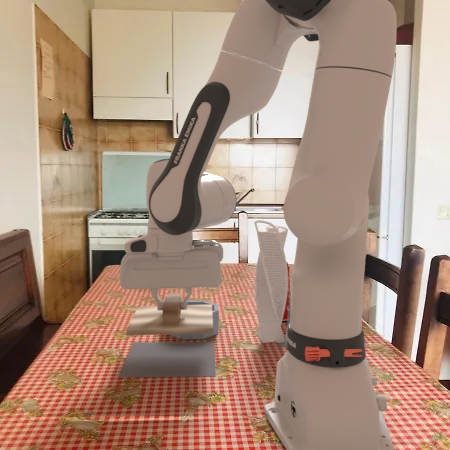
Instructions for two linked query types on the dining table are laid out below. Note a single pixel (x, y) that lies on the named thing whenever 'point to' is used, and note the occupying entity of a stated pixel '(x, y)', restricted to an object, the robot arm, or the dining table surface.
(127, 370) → the rubber mat
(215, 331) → the bowl
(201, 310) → the cover board
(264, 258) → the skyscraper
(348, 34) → the robot arm
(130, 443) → the dining table surface
